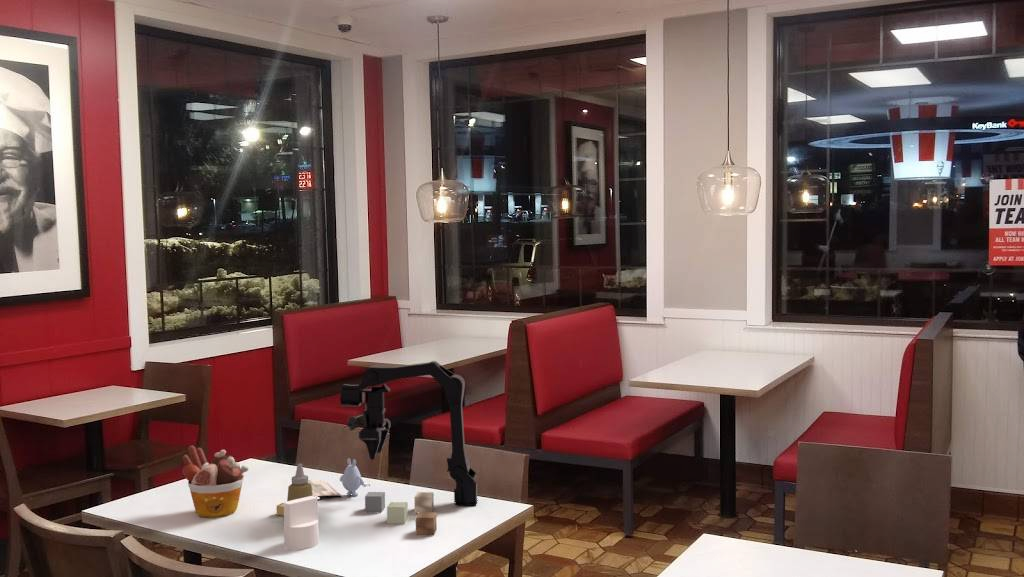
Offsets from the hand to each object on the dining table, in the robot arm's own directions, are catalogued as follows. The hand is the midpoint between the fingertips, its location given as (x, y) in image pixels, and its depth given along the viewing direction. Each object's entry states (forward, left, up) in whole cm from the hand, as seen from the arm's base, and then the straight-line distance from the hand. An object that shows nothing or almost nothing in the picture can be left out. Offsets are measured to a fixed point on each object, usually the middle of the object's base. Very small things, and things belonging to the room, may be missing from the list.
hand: (375, 456), depth 278 cm
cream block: (-16, +8, -15) cm, 23 cm away
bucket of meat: (+47, +12, -15) cm, 50 cm away
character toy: (+23, +15, -15) cm, 31 cm away
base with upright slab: (+12, +40, -15) cm, 44 cm away
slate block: (-1, +8, -15) cm, 17 cm away
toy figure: (+10, -8, -15) cm, 19 cm away
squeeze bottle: (+16, +25, -15) cm, 34 cm away
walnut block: (-20, +29, -15) cm, 38 cm away
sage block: (-10, +19, -15) cm, 26 cm away
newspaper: (+23, -12, -16) cm, 30 cm away
